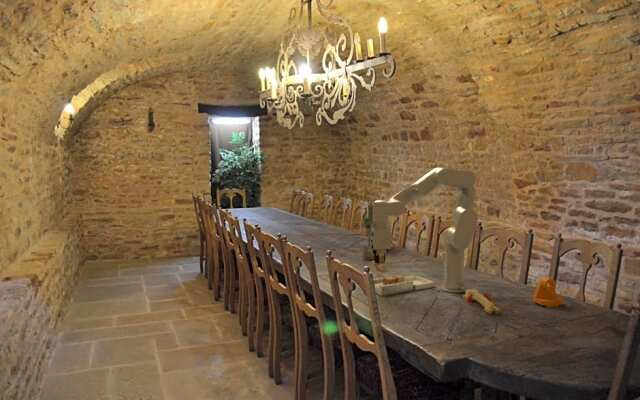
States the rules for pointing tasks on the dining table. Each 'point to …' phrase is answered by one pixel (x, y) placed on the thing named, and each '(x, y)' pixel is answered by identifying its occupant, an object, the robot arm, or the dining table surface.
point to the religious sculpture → (369, 221)
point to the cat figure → (482, 300)
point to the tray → (420, 282)
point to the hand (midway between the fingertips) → (379, 262)
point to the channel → (392, 287)
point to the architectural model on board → (367, 254)
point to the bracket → (546, 293)
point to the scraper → (380, 263)
